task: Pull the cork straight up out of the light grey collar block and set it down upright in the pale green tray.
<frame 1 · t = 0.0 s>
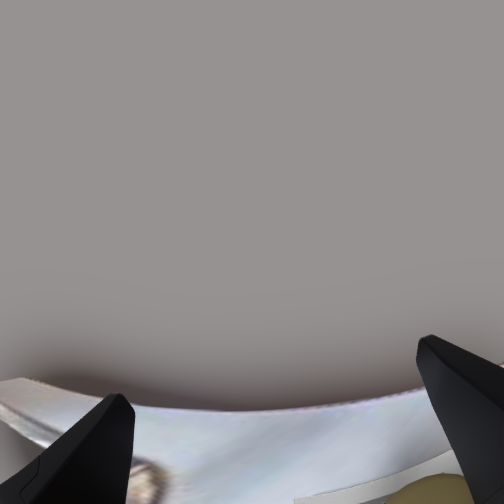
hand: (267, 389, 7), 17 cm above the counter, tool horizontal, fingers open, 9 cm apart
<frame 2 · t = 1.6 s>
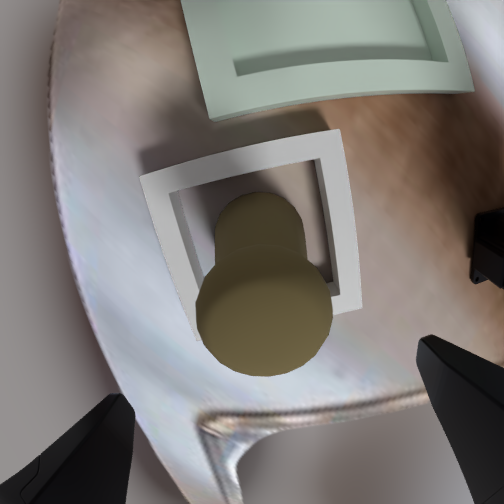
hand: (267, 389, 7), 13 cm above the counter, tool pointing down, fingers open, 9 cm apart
collar block: (259, 236, 20), on the counter
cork: (259, 235, 20), resting in collar block
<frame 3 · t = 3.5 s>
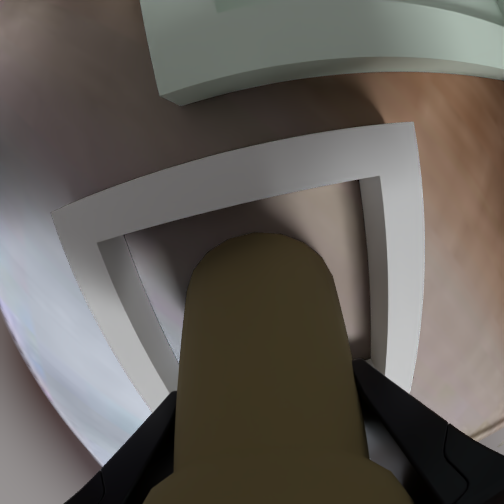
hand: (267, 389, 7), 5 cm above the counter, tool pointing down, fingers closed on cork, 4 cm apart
collar block: (261, 304, 12), on the counter
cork: (261, 302, 12), resting in collar block, touching gripper
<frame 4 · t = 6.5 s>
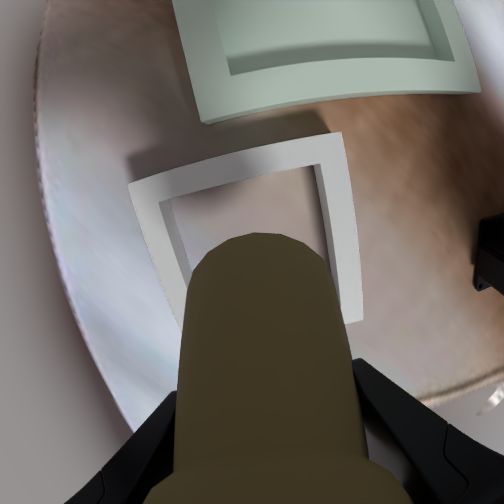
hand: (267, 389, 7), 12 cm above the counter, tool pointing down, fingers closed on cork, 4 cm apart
collar block: (255, 246, 19), on the counter
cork: (261, 302, 12), point 7 cm above the counter, touching gripper
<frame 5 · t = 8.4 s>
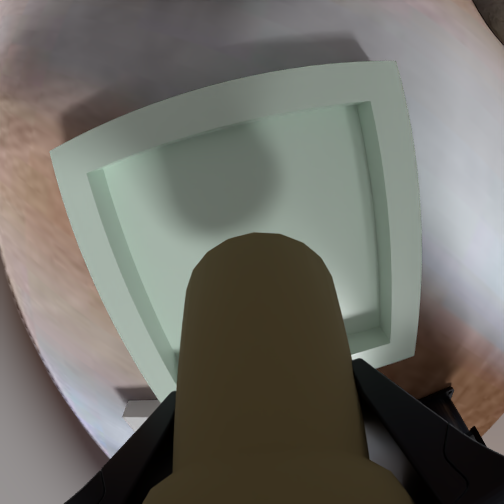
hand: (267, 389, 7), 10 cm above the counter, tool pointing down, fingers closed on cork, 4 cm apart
collar block: (213, 435, 23), on the counter
tray: (256, 252, 17), on the counter
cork: (260, 302, 12), point 5 cm above the counter, touching gripper
pillar candle: (503, 10, 9), on the counter
when the fingers open (6 cm above the counter, at t = 9.8 s): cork stays where it is, resting on tray.
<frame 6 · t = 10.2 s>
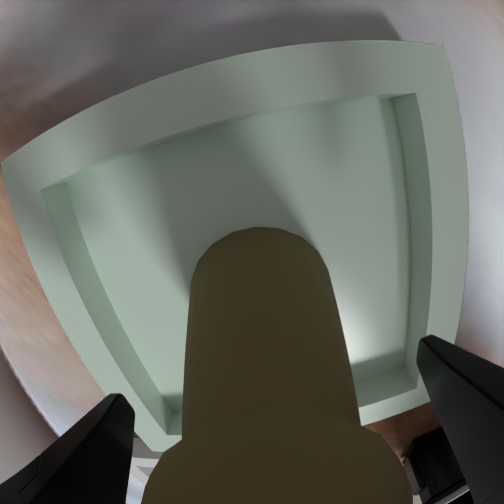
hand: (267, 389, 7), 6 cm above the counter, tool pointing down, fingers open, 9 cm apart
collar block: (211, 471, 20), on the counter
tray: (260, 287, 13), on the counter
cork: (261, 292, 13), resting on tray
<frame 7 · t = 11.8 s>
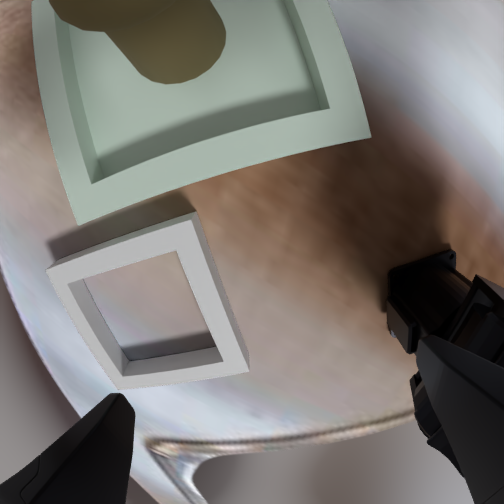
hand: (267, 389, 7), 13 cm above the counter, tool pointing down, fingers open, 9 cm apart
collar block: (150, 310, 21), on the counter
tray: (178, 42, 14), on the counter
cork: (177, 41, 14), resting on tray
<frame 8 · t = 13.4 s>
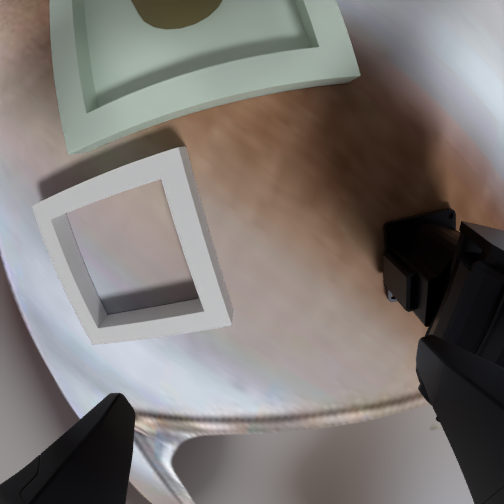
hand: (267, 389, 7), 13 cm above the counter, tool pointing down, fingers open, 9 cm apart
collar block: (131, 253, 20), on the counter
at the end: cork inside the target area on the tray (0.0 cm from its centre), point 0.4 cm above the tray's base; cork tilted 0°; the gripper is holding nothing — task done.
